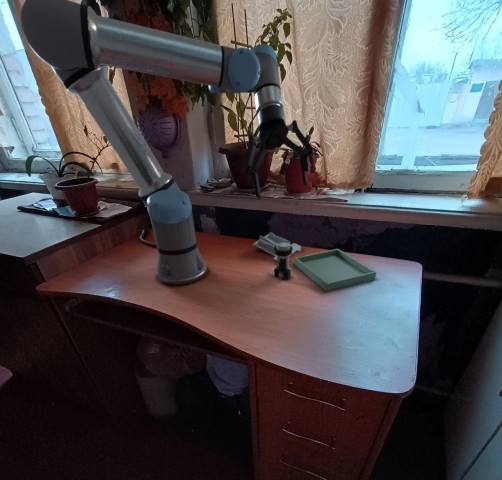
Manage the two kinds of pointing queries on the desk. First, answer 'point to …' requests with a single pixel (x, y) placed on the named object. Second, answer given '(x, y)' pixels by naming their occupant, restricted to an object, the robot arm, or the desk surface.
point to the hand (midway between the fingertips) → (281, 190)
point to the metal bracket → (273, 244)
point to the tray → (334, 269)
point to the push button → (282, 260)
